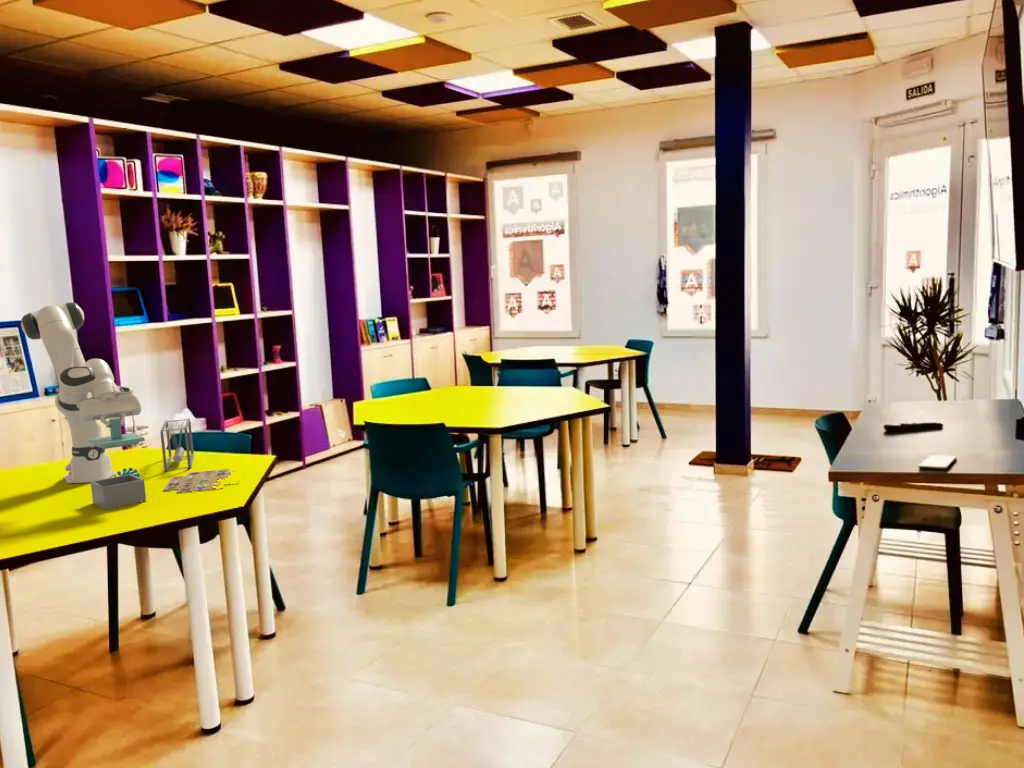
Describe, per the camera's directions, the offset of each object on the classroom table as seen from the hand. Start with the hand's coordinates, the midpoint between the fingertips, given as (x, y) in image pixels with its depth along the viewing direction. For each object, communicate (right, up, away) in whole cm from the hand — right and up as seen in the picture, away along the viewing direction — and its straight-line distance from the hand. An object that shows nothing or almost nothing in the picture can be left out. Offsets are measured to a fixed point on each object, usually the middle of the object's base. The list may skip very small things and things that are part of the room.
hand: (115, 425), depth 303 cm
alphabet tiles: (+21, -24, +30) cm, 44 cm away
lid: (0, -6, +1) cm, 6 cm away
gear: (-6, -26, +24) cm, 36 cm away
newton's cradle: (-3, -20, +65) cm, 68 cm away
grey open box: (0, -28, +3) cm, 28 cm away
